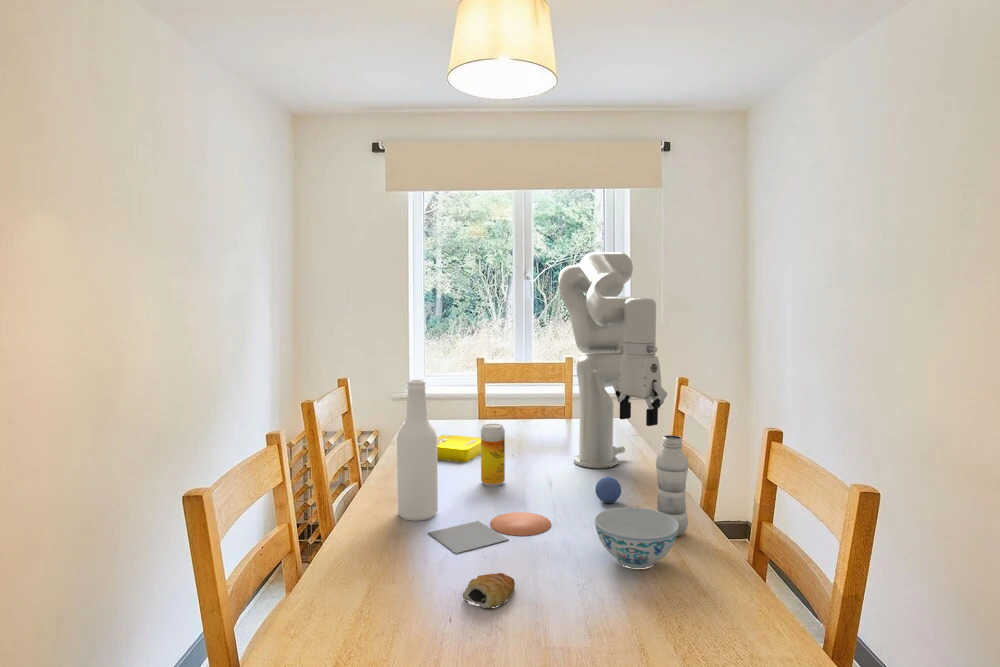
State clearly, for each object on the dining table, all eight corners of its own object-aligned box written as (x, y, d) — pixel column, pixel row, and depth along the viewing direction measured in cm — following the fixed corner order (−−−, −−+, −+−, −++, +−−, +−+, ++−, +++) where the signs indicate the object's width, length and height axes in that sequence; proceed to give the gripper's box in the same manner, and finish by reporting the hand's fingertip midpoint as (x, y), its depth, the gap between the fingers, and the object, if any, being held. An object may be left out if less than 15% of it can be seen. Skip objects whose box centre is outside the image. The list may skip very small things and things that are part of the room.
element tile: (466, 464, 183) (466, 448, 182) (420, 459, 188) (420, 443, 188) (486, 451, 197) (486, 436, 196) (443, 447, 202) (443, 432, 202)
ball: (609, 496, 153) (609, 472, 152) (626, 503, 148) (627, 478, 147) (589, 501, 150) (590, 476, 149) (607, 508, 145) (607, 482, 144)
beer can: (502, 487, 160) (502, 429, 159) (478, 486, 161) (478, 428, 160) (506, 480, 166) (506, 423, 165) (484, 479, 167) (483, 423, 166)
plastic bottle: (670, 542, 126) (672, 442, 124) (647, 530, 132) (649, 435, 130) (694, 536, 129) (696, 439, 127) (671, 525, 135) (673, 432, 133)
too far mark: (478, 521, 137) (478, 520, 136) (508, 540, 126) (508, 539, 126) (427, 533, 130) (427, 532, 130) (456, 554, 120) (456, 553, 120)
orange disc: (527, 509, 144) (527, 508, 144) (563, 527, 133) (563, 526, 133) (478, 520, 137) (478, 519, 137) (512, 540, 126) (512, 539, 126)
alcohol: (428, 523, 135) (426, 384, 133) (390, 519, 138) (389, 382, 136) (443, 510, 144) (442, 378, 142) (408, 506, 146) (406, 377, 144)
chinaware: (619, 539, 127) (619, 501, 126) (691, 559, 117) (692, 519, 117) (578, 564, 115) (579, 523, 115) (655, 589, 106) (656, 544, 105)
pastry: (491, 580, 110) (492, 559, 109) (525, 591, 106) (525, 569, 106) (459, 603, 102) (459, 580, 102) (494, 615, 98) (494, 591, 98)
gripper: (678, 352, 146) (676, 426, 147) (625, 346, 161) (624, 414, 162) (655, 353, 142) (653, 430, 143) (602, 347, 157) (602, 417, 158)
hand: (638, 421), depth 153 cm, fingers open, 8 cm apart
